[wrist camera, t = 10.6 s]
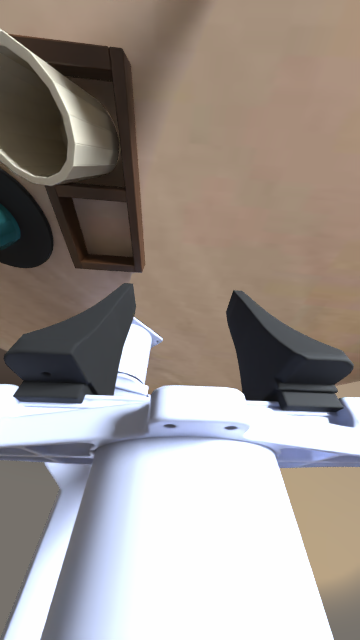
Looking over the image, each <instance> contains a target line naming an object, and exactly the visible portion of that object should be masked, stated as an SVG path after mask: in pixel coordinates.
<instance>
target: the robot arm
mask: <svg viewBox="0 0 360 640" xmlns="http://www.w3.org/2000/svg"><path fill="white" fill-rule="evenodd" d="M135 309H136V303H135V296H134V288H133V284H128V283H124V284H122V285H121V286H120V287H119V288H117V289H116V290H115V291H114V292H112V293H111V294H110V295H109V296H107V297H106V298H105V299H103V300H102V301H100V302H99V303H97V304H96V305H94V306H93V307H91V308H89V309H88V310H86V311H84V312H82V313H80V314H78V315H76V316H74V317H72V318H69V319H67V320H65V321H62V322H60V323H57V324H55V325H52V326H49V327H46V328H43V329H40V330H37V331H33V332H30V333H26V334H23V335H22V336H21V337H20V338H19V340H18V341H17V342H16V343H15V344H14V345H13V346H12V347H11V348H10V349H9V351H8V352H7V353H6V354H5V355H4V361H5V364H6V365H7V366H8V367H9V368H10V369H11V370H12V371H14V373H16V374H17V375H18V376H19V377H20V378H21V379H22V380H24V381H23V382H22V384H21V385H20V386H19V387H18V386H15V385H11V384H0V460H11V461H31V462H44V464H45V466H46V468H47V469H48V471H49V472H50V474H51V475H52V477H53V478H54V480H55V481H56V483H57V484H58V486H59V488H60V489H59V491H58V494H57V496H56V499H55V501H54V504H53V507H52V509H51V512H50V514H49V517H48V519H47V522H46V524H45V527H44V529H43V532H42V535H41V537H40V540H39V542H38V545H37V547H36V549H35V552H34V554H33V557H32V560H31V562H30V565H29V567H28V570H27V572H26V575H25V577H24V580H23V582H22V585H21V587H20V590H19V592H18V595H17V597H16V600H15V602H14V605H13V607H12V610H11V612H10V615H9V618H8V620H7V623H6V625H5V628H4V630H3V633H2V635H1V638H0V640H334V639H333V636H332V633H331V630H330V627H329V624H328V620H327V617H326V614H325V611H324V608H323V605H322V602H321V598H320V595H319V592H318V589H317V586H316V583H315V580H314V576H313V573H312V570H311V567H310V564H309V561H308V558H307V554H306V552H305V549H304V545H303V542H302V539H301V536H300V532H299V529H298V526H297V523H296V520H295V517H294V514H293V511H292V508H291V504H290V501H289V498H288V495H287V492H286V489H285V486H284V482H283V479H282V476H281V473H280V470H279V468H298V467H299V468H301V467H360V398H352V397H343V398H339V399H338V398H337V396H336V395H335V393H337V392H338V390H337V388H336V387H335V385H334V384H336V383H337V382H339V381H340V380H342V379H343V378H344V377H346V376H347V375H348V374H350V373H351V371H352V370H353V363H352V362H351V361H350V360H349V358H348V357H347V356H346V355H345V353H344V352H343V351H342V350H339V349H337V348H334V347H331V346H329V345H326V344H324V343H321V342H319V341H317V340H314V339H312V338H310V337H308V336H306V335H304V334H302V333H300V332H298V331H296V330H294V329H292V328H290V327H289V326H287V325H285V324H284V323H282V322H281V321H279V320H278V319H276V318H275V317H273V316H272V315H271V314H269V313H268V312H267V311H265V310H264V309H263V308H262V307H260V306H259V305H258V304H257V303H256V302H254V301H253V300H252V299H251V298H250V297H249V296H248V295H246V294H245V293H244V292H243V291H235V290H233V293H232V296H231V299H230V302H229V305H228V308H227V311H226V315H227V322H228V326H229V329H230V333H231V336H232V339H233V342H234V346H235V349H236V353H237V358H238V364H239V370H240V376H241V384H242V393H241V392H240V391H238V390H237V389H233V388H227V387H206V386H181V385H171V386H162V387H160V388H158V389H155V390H154V391H153V392H152V394H151V395H149V394H147V392H148V386H146V385H144V384H145V378H146V372H147V366H148V360H149V354H150V348H152V347H153V346H155V345H157V344H159V343H161V342H162V341H163V339H162V338H161V337H160V336H159V335H157V334H156V333H155V332H153V331H152V330H151V329H149V328H148V327H147V326H145V325H144V324H143V323H141V322H140V321H139V320H137V319H136V318H135V317H134V314H135Z"/></svg>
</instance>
